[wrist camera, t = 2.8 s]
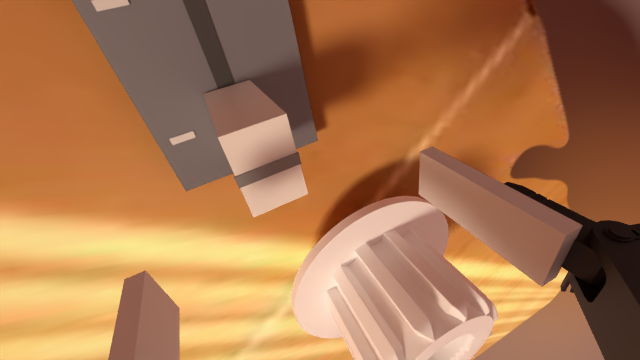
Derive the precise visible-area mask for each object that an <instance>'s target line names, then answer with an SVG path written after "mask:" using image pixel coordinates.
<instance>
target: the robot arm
mask: <svg viewBox="0 0 640 360" xmlns="http://www.w3.org/2000/svg"><path fill="white" fill-rule="evenodd" d="M419 195H421V196H422V197H423V198H425V199H426V200H427V201H428V202H430V203H431V204H432V205H434V206H435V207H436V208H438V209H439V210H440V211H442V212H443V213H444V214H446V215H447V216H448V217H450V218H451V219H452V220H454V221H455V222H456V223H458V224H459V225H460V226H462V227H463V228H464V229H466V230H467V231H468V232H470V233H471V234H472V235H474V236H475V237H476V238H478V239H479V240H480V241H482V242H483V243H484V244H486V245H487V246H488V247H490V248H491V249H492V250H494V251H495V252H496V253H498V254H499V255H500V256H502V257H503V258H504V259H506V260H507V261H508V262H510V263H511V264H512V265H514V266H515V267H516V268H518V269H519V270H520V271H522V272H523V273H524V274H526V275H527V276H528V277H530V278H531V279H532V280H534V281H535V282H536V283H538V284H539V285H540V286H541V287H542V286H543V285H545V284H546V283H548V282H549V281H551V280H553V279H554V278H556V276H557V275H558V273H559V271H560V269H561V267H563V268H564V269H566V270H567V271H568V273H567V275H566V277H565V279H564V280H563V282H562V284H561V291H566V289H567V287H568V285H569V284H570V285H571V290H570V292H572V293H575V295H576V298H577V300H578V302H579V304H580V306H581V309H582V311H583V313H584V315H585V317H586V319H587V322H588V324H589V326H590V328H591V331H592V333H593V335H594V337H595V339H596V341H597V344H598V346H599V348H600V350H601V352H602V355H603V357H604V359H605V360H640V224H635V225H627V224H624V223H621V222H617V221H610V220H607V221H599V222H594V221H592V220H590V219H588V218H586V217H584V216H581V215H580V214H578V213H576V212H574V211H572V210H570V209H568V208H566V207H564V206H562V205H560V204H558V203H556V202H554V201H552V200H550V199H549V200H547V198H546V197H544V196H542V195H540V194H536V192H534V191H532V190H530V189H528V188H526V187H524V186H521V185H517V184H514V183H510V182H506V183H504V184H503V183H501V182H499V181H497V180H495V179H493V178H491V177H490V176H488V175H486V174H484V173H482V172H480V171H478V170H476V169H474V168H472V167H470V166H469V165H467V164H465V163H463V162H461V161H459V160H457V159H455V158H453V157H451V156H449V155H448V154H446V153H444V152H442V151H440V150H438V149H436V148H434V147H430V148H428V149H425V150H423V151H421V152H420V169H419ZM108 360H179V307H178V306H177V305H176V304H175V303H174V302H173V301H172V299H171V298H170V297H169V296H168V295H167V294H166V293H165V292H164V290H163V289H162V288H161V287H160V286H159V285H158V284H157V283H156V282H155V280H154V279H153V278H152V277H151V276H150V275H149V274H148V273H147V272H146V270H145V271H143V272H141V273H138V274H136V275H134V276H132V277H129V278H127V279H125V280H124V285H123V290H122V295H121V300H120V305H119V310H118V315H117V319H116V324H115V329H114V334H113V339H112V344H111V349H110V354H109V359H108Z"/></svg>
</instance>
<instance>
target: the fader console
mask: <svg viewBox="0 0 640 360" xmlns="http://www.w3.org/2000/svg"><path fill="white" fill-rule="evenodd" d="M72 2H73V3H74V5H75V7H76V8H77V10H78V12H79V13H80V15H81V17H82V18H83V20H84V22H85V23H86V25H87V27H88V28H89V30H90V32H91V33H92V35H93V37H94V38H95V40H96V42H97V43H98V45H99V47H100V48H101V50H102V52H103V53H104V55H105V57H106V58H107V60H108V62H109V63H110V65H111V67H112V68H113V70H114V72H115V73H116V75H117V77H118V78H119V80H120V82H121V83H122V85H123V87H124V88H125V90H126V92H127V93H128V95H129V97H130V98H131V100H132V102H133V103H134V105H135V107H136V108H137V110H138V112H139V113H140V115H141V117H142V118H143V120H144V122H145V123H146V125H147V127H148V128H149V130H150V132H151V133H152V135H153V137H154V138H155V140H156V142H157V143H158V145H159V147H160V148H161V150H162V152H163V153H164V155H165V157H166V158H167V160H168V162H169V163H170V165H171V167H172V168H173V170H174V172H175V173H176V175H177V177H178V178H179V180H180V182H181V183H182V185H183V187H184V188H185V190H186V191H188V190H191V189H193V188H196V187H199V186H201V185H204V184H206V183H209V182H212V181H214V180H217V179H219V178H222V177H225V176H227V175H230V174H232V173H233V171H232V168H231V166H230V164H229V162H228V159H227V157H226V155H225V153H224V151H223V148H222V146H221V144H220V142H219V139H218V137H217V134H216V131H215V128H214V125H213V122H212V120H211V117H210V114H209V111H208V108H207V105H206V102H205V99H204V96H203V94H205V93H208V92H211V91H215V90H218V89H221V88H224V87H228V86H231V85H234V84H237V83H241V82H244V81H247V80H250V81H251V82H252V83H253V84H255V85H256V86H257V87H258V88H259V89H260V90H261V91H262V92H263V93H264V94H265V95H267V96H268V97H269V98H270V99H271V100H272V101H273V102H274V103H275V104H276V105H278V106H279V107H280V108H281V109H282V110H283V111H284V112H285V113H286V114H287V118H288V121H289V125H290V129H291V132H292V136H293V140H294V144H295V147H296V149H297V148H300V147H302V146H305V145H308V144H310V143H313V142H315V141H318V139H317V134H316V129H315V124H314V120H313V115H312V110H311V105H310V101H309V96H308V91H307V87H306V82H305V77H304V72H303V68H302V63H301V58H300V53H299V49H298V44H297V39H296V35H295V30H294V25H293V20H292V16H291V11H290V6H289V1H288V0H72Z"/></svg>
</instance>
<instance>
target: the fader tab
mask: <svg viewBox="0 0 640 360" xmlns="http://www.w3.org/2000/svg"><path fill="white" fill-rule="evenodd" d="M203 96H204V99H205V102H206V105H207V108H208V111H209V114H210V117H211V120H212V122H213V125H214V128H215V131H216V134H217V137H218V139H219V142H220V144H221V146H222V148H223V151H224V153H225V155H226V157H227V159H228V162H229V164H230V166H231V168H232V171H233V173H234V175H235V176H234V177H235V180H236V182H237V184H238V186H239V188H241V191H242V193H243V195H244V197H245V200H246V202H247V204H248V206H249V209H250V211H251V213H252V215H253V217H256V216H258V215H260V214H263V213H265V212H267V211H270V210H272V209H274V208H277V207H279V206H281V205H284V204H286V203H288V202H290V201H293V200H295V199H297V198H300V197H302V196H304V195H307V194H308V192H307V188H306V184H305V181H304V177H303V173H302V170H301V166H300V164H301V161H300V157H299V153H298V152H297V151H296V147H295V144H294V140H293V136H292V132H291V129H290V125H289V121H288V118H287V114H286V113H285V112H284V111H283V110H282V109H281V108H280V107H279V106H278V105H276V104H275V103H274V102H273V101H272V100H271V99H270V98H269V97H268V96H267V95H265V94H264V93H263V92H262V91H261V90H260V89H259V88H258V87H257V86H256V85H255V84H253V83H252V82H251V81H250V80H247V81H244V82H241V83H237V84H234V85H231V86H228V87H224V88H221V89H218V90H215V91H211V92H208V93H205V94H203Z"/></svg>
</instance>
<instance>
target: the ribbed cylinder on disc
mask: <svg viewBox="0 0 640 360" xmlns="http://www.w3.org/2000/svg"><path fill="white" fill-rule="evenodd" d="M448 234H449V230H448V223H447V220H446V218H445V216H444V214H443V213H442V212H441V211H440V210H439V209H438V208H436V207H435V206H434V205H432V204H431V203H430V202H428V201H427V200H425V199H422V198H419V197H414V196H397V197H391V198H387V199H383V200H380V201H377V202H375V203H372V204H370V205H368V206H365V207H363V208H361V209H359V210H358V211H356V212H354V213H353V214H351V215H349V216H348V217H346V218H345V219H343V220H342V221H341V222H339V223H338V224H337V225H335V226H334V227H333V228H332V229H331V230H330V231H329V232H327V233H326V234H325V235H324V236H323V237H322V238H321V239H320V240H319V241H318V243H317V244H316V245H315V246H314V247H313V248H312V250H311V251H310V252H309V254H308V255H307V257H306V258H305V260H304V261H303V263H302V265H301V266H300V268H299V270H298V272H297V275H296V277H295V280H294V283H293V287H292V293H291V304H292V309H293V312H294V314H295V317H296V319H297V322H298V324H299V325H300V326H301V328H302V329H303V330H304V331H306V332H307V333H309V334H311V335H313V336H316V337H320V338H339V337H343V339H344V341H345V343H346V345H347V347H348V348H349V350H350V352H351V354H352V356H353V358H354V360H470V359H471V358H472V357H474V356H475V353H476V352H477V351H478V350H479V349H480V347H481V346H482V345H483V344H484V342H485V341H486V339H487V338H488V337H490V336H491V335H492V328H493V322H494V321H496V320H497V319H498V315H497V310H496V308H495V306H494V304H493V303H492V302H491V301H490V300H489V299H488V298H487V297H486V295H485V294H483V293H482V292H481V291H480V290H479V289H478V288H477V287H476V286H475V285H474V284H473V283H471V282H470V281H469V280H468V279H467V278H466V277H465V276H464V275H463V274H462V273H461V272H459V271H458V270H457V269H456V268H455V267H454V266H453V265H452V264H451V263H450V262H448V261H447V260H446V259H445V258H444V257H443V255H444V253H445V250H446V247H447V242H448Z"/></svg>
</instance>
